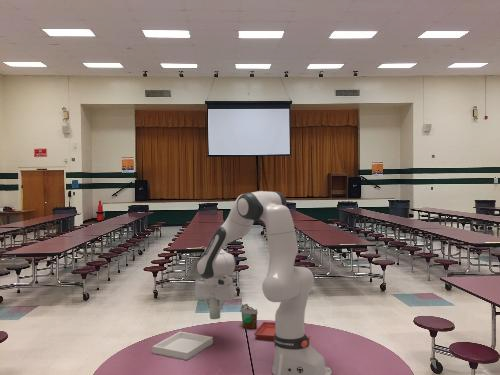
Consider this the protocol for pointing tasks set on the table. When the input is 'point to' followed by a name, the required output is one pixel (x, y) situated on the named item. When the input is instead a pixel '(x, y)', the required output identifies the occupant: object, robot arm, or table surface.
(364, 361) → the table surface
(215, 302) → the cylinder
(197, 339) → the tray
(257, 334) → the plant saucer
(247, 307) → the food container
